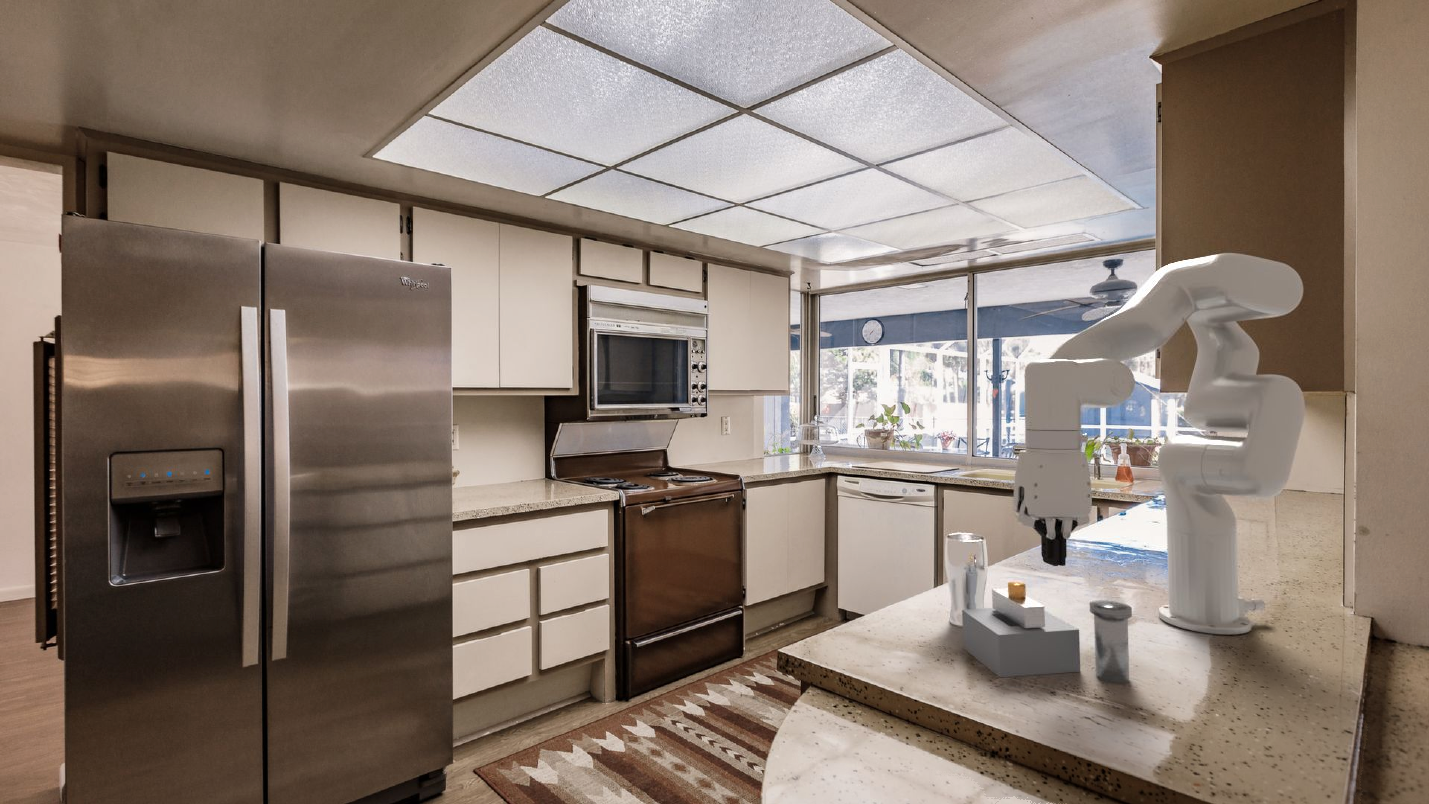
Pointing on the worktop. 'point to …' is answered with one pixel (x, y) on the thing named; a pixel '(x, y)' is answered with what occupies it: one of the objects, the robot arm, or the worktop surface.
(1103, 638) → the grey capped cylinder
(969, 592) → the beer glass
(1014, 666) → the block
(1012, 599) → the bar
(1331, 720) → the worktop surface
